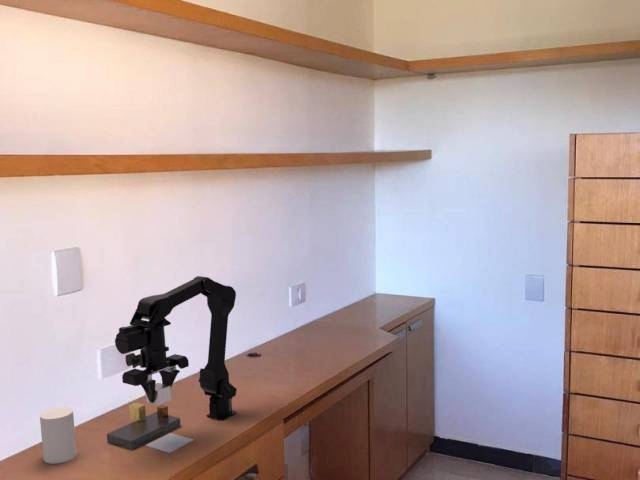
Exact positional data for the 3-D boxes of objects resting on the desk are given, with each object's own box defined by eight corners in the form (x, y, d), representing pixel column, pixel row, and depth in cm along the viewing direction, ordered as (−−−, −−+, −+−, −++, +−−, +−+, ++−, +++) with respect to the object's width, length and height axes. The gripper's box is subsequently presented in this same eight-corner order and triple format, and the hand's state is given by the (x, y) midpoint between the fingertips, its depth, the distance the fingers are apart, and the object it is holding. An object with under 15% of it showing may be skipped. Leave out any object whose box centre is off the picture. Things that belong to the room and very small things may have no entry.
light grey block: (159, 396, 183) (158, 382, 183) (171, 399, 180) (170, 385, 180) (146, 401, 180) (145, 387, 179) (158, 405, 177) (157, 390, 176)
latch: (136, 415, 193) (135, 402, 193) (145, 418, 191) (144, 404, 191) (130, 418, 191) (129, 405, 191) (139, 421, 189) (138, 407, 189)
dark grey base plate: (156, 419, 197) (155, 402, 196) (180, 426, 191) (179, 408, 191) (107, 442, 182) (105, 423, 181) (131, 450, 177) (130, 430, 176)
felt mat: (170, 434, 186) (170, 432, 186) (193, 440, 181) (193, 439, 181) (145, 446, 179) (145, 444, 179) (169, 453, 174) (169, 452, 174)
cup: (80, 449, 179) (77, 406, 177) (70, 462, 170) (66, 418, 169) (50, 450, 178) (46, 407, 177) (38, 464, 170) (34, 419, 169)
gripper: (161, 332, 190) (165, 384, 192) (106, 349, 175) (111, 405, 177) (188, 337, 184) (192, 390, 186) (134, 355, 169) (138, 413, 171)
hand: (158, 399), depth 180 cm, fingers closed on light grey block, 4 cm apart
